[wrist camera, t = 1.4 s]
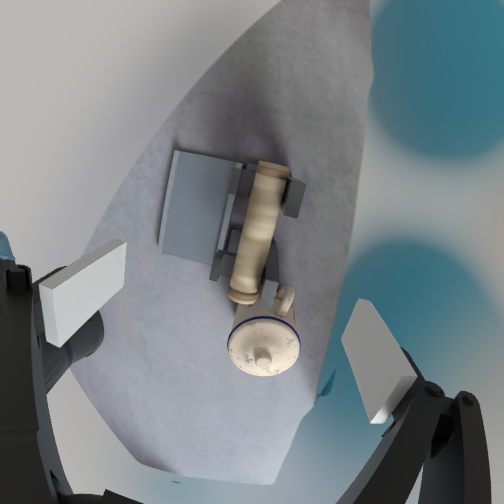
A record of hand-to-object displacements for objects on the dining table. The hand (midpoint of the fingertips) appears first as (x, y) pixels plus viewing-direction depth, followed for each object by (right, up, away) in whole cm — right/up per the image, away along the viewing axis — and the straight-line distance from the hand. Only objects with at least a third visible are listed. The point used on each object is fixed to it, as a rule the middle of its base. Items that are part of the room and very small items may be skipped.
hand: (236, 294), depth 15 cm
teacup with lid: (+3, -6, +27) cm, 28 cm away
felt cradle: (-6, +8, +23) cm, 26 cm away
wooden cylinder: (+1, +5, +14) cm, 15 cm away
